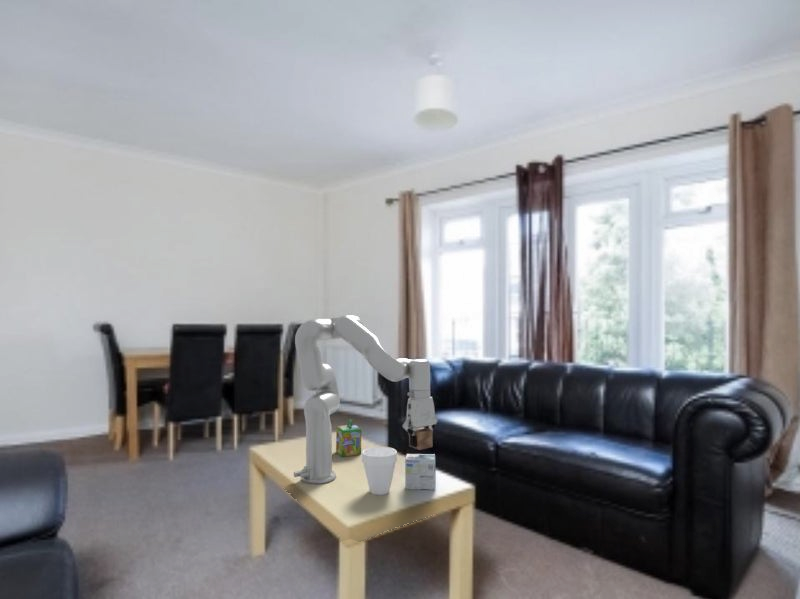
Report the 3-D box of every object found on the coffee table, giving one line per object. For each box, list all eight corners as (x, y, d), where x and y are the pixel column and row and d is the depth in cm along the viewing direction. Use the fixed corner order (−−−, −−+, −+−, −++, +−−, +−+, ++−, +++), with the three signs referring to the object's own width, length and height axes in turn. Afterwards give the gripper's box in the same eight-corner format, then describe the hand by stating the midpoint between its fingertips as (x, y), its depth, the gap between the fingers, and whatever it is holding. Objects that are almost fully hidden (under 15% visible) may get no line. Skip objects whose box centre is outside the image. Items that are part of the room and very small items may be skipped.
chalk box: (335, 452, 209) (335, 418, 210) (355, 449, 213) (354, 416, 214) (342, 457, 201) (341, 423, 201) (362, 454, 205) (361, 420, 205)
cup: (378, 482, 170) (378, 444, 171) (404, 490, 163) (404, 450, 163) (354, 492, 161) (354, 452, 161) (381, 500, 153) (380, 459, 154)
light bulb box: (435, 483, 169) (435, 453, 169) (435, 490, 162) (435, 459, 162) (406, 482, 170) (406, 453, 170) (405, 489, 163) (404, 458, 163)
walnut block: (419, 450, 162) (419, 432, 162) (409, 446, 167) (408, 429, 167) (432, 446, 166) (432, 429, 166) (422, 443, 171) (421, 426, 171)
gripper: (407, 398, 159) (408, 451, 158) (444, 392, 169) (445, 442, 168) (394, 395, 165) (395, 446, 164) (431, 390, 175) (432, 438, 175)
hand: (420, 444), depth 166 cm, fingers closed on walnut block, 6 cm apart
